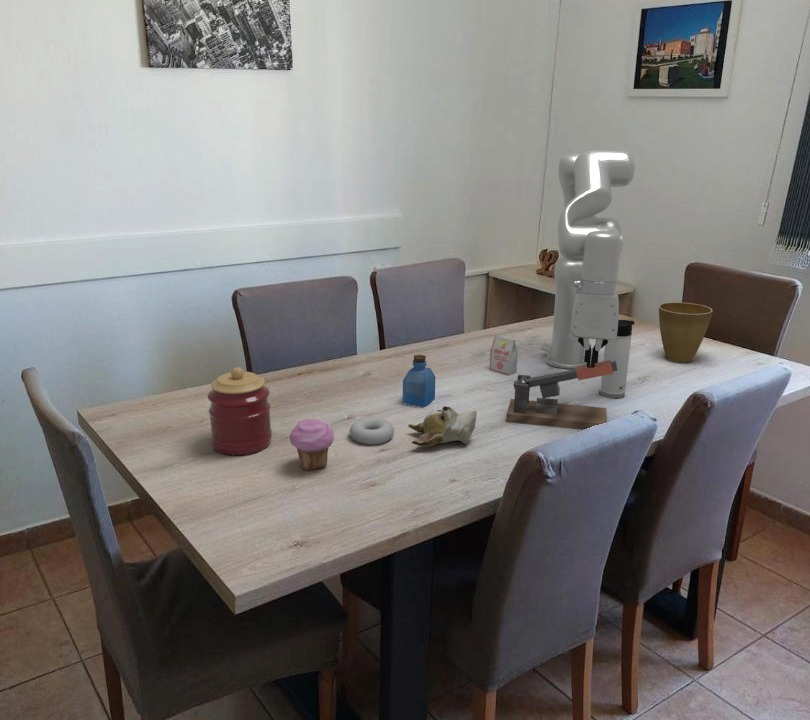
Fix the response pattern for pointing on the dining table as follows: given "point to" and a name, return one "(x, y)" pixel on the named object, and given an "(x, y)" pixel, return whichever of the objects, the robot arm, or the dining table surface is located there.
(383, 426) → the donut
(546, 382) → the lever
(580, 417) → the nutcracker base
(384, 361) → the dining table surface
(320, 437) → the cupcake
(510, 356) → the white paper bag
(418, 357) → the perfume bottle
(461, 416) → the ceramic sculpture
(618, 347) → the travel mug
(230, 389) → the canister
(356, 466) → the dining table surface
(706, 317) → the plant pot
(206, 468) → the dining table surface
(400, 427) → the dining table surface
